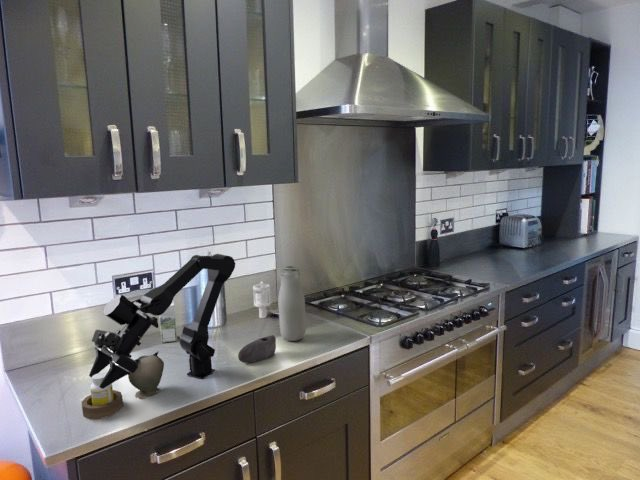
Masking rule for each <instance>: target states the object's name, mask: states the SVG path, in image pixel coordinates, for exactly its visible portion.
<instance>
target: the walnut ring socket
mask: <svg viewBox="0 0 640 480" xmlns="http://www.w3.org/2000/svg"><path fill="white" fill-rule="evenodd" d="M113 397H114V401H112V402H110V403H108V404H105V405H101V406H93V405H92V397H91V394H89V395H88V396H85V397H84V399H83V400H81V409H82V415H83V417H84V418H87V419H89V420H96V419H103V418H107V417H111V416H113V415H115V414H117V413H119V412H120V411H121V410H122V408H123V407H124V399H123V395H122V392H121V391H119V390H115V389H113Z"/></svg>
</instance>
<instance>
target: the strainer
mask: <svg viewBox="0 0 640 480" xmlns="http://www.w3.org/2000/svg"><path fill="white" fill-rule="evenodd" d="M252 291H253V292H252V294H253V307H256V308H258V317H259V319H266V318H267V307H269V306H271V304H272V303H271V287H270V284H268V283H264V281H260V282H259V283H257V284H254V285H253V286H252Z"/></svg>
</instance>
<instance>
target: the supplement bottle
mask: <svg viewBox="0 0 640 480" xmlns="http://www.w3.org/2000/svg"><path fill="white" fill-rule="evenodd" d="M106 374H107V372H99V373H98V374H95V375H93V376H92V377H91V380H92V381H91V385H90V386H89V387H90V395H91V397H92V405H93V406H101V405H105V404H108V403H110V402H112V401H114V397H113V390H114V389H113V383H112V384H110V385H108V386H107V387H105V388H103V389H102V388H100V387H99V386H100V384H101V382H102V381H103V379H104V377H105V376H106Z"/></svg>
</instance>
